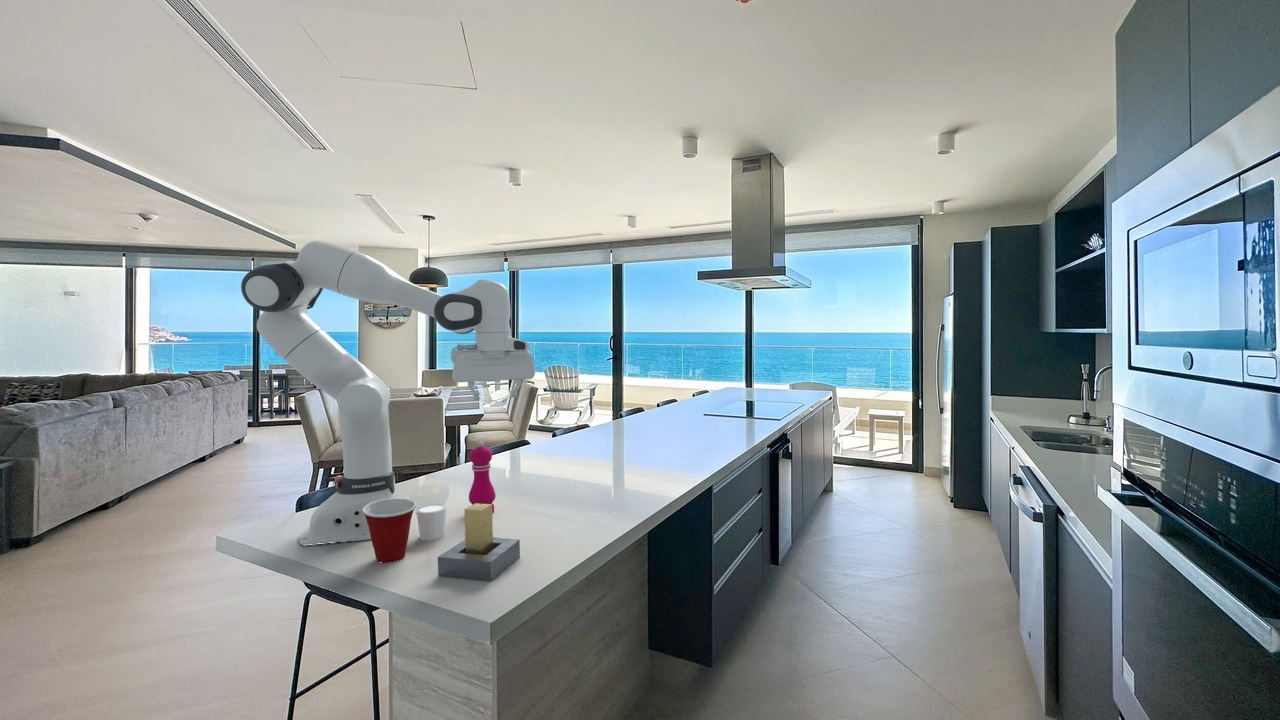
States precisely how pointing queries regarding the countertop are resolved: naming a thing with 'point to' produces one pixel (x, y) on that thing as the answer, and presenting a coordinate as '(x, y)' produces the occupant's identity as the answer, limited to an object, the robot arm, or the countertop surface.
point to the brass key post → (478, 529)
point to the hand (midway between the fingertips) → (495, 398)
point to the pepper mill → (481, 476)
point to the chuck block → (479, 561)
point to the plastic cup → (389, 527)
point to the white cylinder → (431, 521)
